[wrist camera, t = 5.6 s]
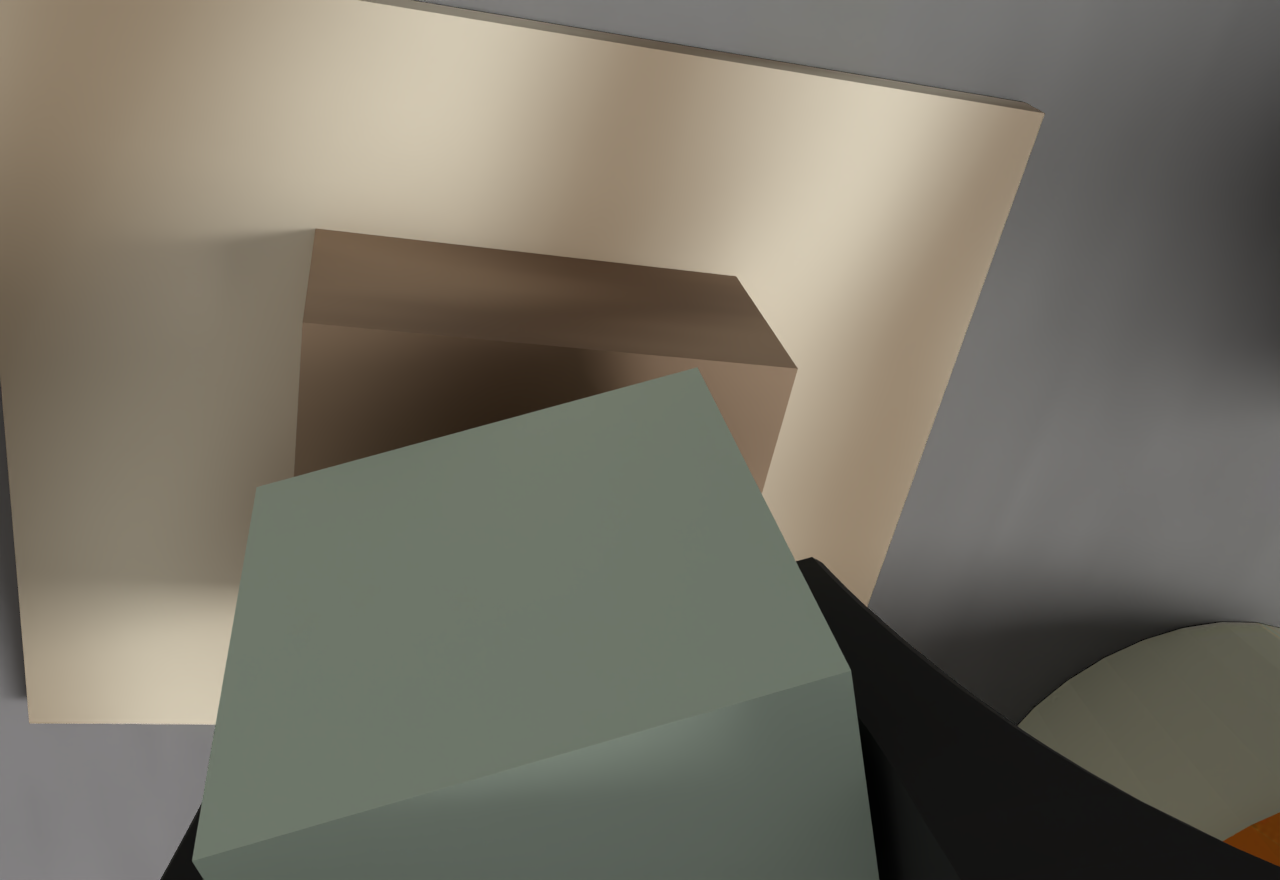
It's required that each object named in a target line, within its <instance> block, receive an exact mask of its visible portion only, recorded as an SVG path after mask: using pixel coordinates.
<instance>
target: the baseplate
mask: <svg viewBox="0 0 1280 880" xmlns="http://www.w3.org/2000/svg"><path fill="white" fill-rule="evenodd" d="M1044 114H1045V113H1043V112H1041V111H1040V110H1038V109H1036V108H1034V107H1032V106H1031V105H1029V104H1027V103H1025V102H1019V101H1013V100H1007V99H1001V98H995V97H989V96H983V95H977V94H971V93H965V92H959V91H953V90H947V89H941V88H935V87H929V86H923V85H917V84H911V83H905V82H899V81H893V80H887V79H881V78H875V77H869V76H863V75H857V74H851V73H845V72H839V71H833V70H827V69H821V68H815V67H809V66H803V65H797V64H791V63H785V62H779V61H773V60H767V59H761V58H755V57H749V56H743V55H737V54H731V53H725V52H719V51H713V50H707V49H701V48H695V47H689V46H683V45H677V44H671V43H665V42H659V41H653V40H647V39H641V38H635V37H629V36H623V35H617V34H611V33H605V32H599V31H593V30H587V29H581V28H575V27H569V26H563V25H557V24H551V23H545V22H539V21H533V20H527V19H521V18H515V17H509V16H503V15H497V14H491V13H485V12H479V11H473V10H467V9H461V8H455V7H449V6H443V5H437V4H431V3H425V2H419V1H413V0H0V380H1V392H2V404H3V416H4V428H5V439H6V451H7V463H8V475H9V487H10V499H11V511H12V523H13V535H14V546H15V558H16V570H17V582H18V594H19V606H20V618H21V630H22V642H23V653H24V665H25V677H26V689H27V701H28V713H29V723H59V724H216V719H217V713H218V707H219V701H220V696H221V690H222V684H223V678H224V673H225V667H226V661H227V655H228V649H229V644H230V638H231V632H232V626H233V621H234V615H235V609H236V603H237V597H238V592H239V586H240V580H241V574H242V569H243V563H244V557H245V551H246V545H247V540H248V534H249V528H250V522H251V516H252V511H253V505H254V499H255V493H256V488H257V487H259V486H262V485H266V484H270V483H273V482H277V481H281V480H285V479H288V478H292V477H296V476H299V475H303V474H307V473H310V472H314V471H318V470H321V469H325V468H329V467H332V466H336V465H340V464H343V463H347V462H351V461H354V460H358V459H362V458H365V457H369V456H373V455H377V454H380V453H384V452H388V451H391V450H395V449H399V448H402V447H406V446H410V445H413V444H417V443H421V442H424V441H428V440H432V439H435V438H439V437H443V436H446V435H450V434H454V433H458V432H461V431H465V430H469V429H472V428H476V427H480V426H483V425H487V424H491V423H494V422H498V421H502V420H505V419H509V418H513V417H516V416H520V415H524V414H527V413H531V412H535V411H538V410H542V409H546V408H550V407H553V406H557V405H561V404H564V403H568V402H572V401H575V400H579V399H583V398H586V397H590V396H594V395H597V394H601V393H605V392H608V391H612V390H616V389H619V388H623V387H627V386H630V385H634V384H638V383H642V382H645V381H649V380H653V379H656V378H660V377H664V376H667V375H671V374H675V373H678V372H682V371H686V370H689V369H693V368H697V367H698V369H699V371H700V373H701V375H702V377H703V379H704V381H705V383H706V385H707V387H708V389H709V391H710V393H711V395H712V397H713V399H714V401H715V403H716V405H717V407H718V409H719V411H720V413H721V415H722V417H723V419H724V421H725V423H726V425H727V427H728V429H729V430H730V432H731V434H732V436H733V438H734V440H735V442H736V444H737V446H738V448H739V450H740V452H741V454H742V456H743V458H744V460H745V462H746V464H747V466H748V468H749V470H750V472H751V474H752V476H753V478H754V480H755V482H756V484H757V486H758V488H759V490H760V492H761V494H762V496H763V498H764V500H765V502H766V504H767V505H768V507H769V509H770V511H771V513H772V515H773V517H774V519H775V521H776V523H777V525H778V527H779V529H780V531H781V533H782V535H783V537H784V539H785V541H786V543H787V545H788V547H789V549H790V551H791V553H792V555H793V557H794V559H795V561H799V560H803V559H806V558H810V557H813V558H815V559H817V560H819V561H820V562H822V563H823V564H824V565H825V566H826V567H827V568H828V569H829V570H830V571H831V572H832V573H833V574H834V575H835V576H836V577H837V578H838V579H839V580H840V581H841V582H842V583H843V584H844V585H845V586H846V587H847V588H848V589H849V590H850V591H851V592H852V593H853V594H854V595H855V596H856V597H857V598H858V599H859V600H860V601H861V602H862V603H863V604H864V605H865V606H868V603H869V600H870V598H871V595H872V592H873V589H874V587H875V584H876V581H877V578H878V575H879V573H880V570H881V567H882V564H883V562H884V559H885V556H886V553H887V550H888V548H889V545H890V542H891V539H892V537H893V534H894V531H895V528H896V526H897V523H898V520H899V517H900V514H901V512H902V509H903V506H904V503H905V501H906V498H907V495H908V492H909V489H910V487H911V484H912V481H913V478H914V476H915V473H916V470H917V467H918V464H919V462H920V459H921V456H922V453H923V451H924V448H925V445H926V442H927V439H928V437H929V434H930V431H931V428H932V426H933V423H934V420H935V417H936V414H937V412H938V409H939V406H940V403H941V401H942V398H943V395H944V392H945V389H946V387H947V384H948V381H949V378H950V376H951V373H952V370H953V367H954V364H955V362H956V359H957V356H958V353H959V351H960V348H961V345H962V342H963V339H964V337H965V334H966V331H967V328H968V326H969V323H970V320H971V317H972V314H973V312H974V309H975V306H976V303H977V301H978V298H979V295H980V292H981V289H982V287H983V284H984V281H985V278H986V276H987V273H988V270H989V267H990V264H991V262H992V259H993V256H994V253H995V251H996V248H997V245H998V242H999V239H1000V237H1001V234H1002V231H1003V228H1004V226H1005V223H1006V220H1007V217H1008V214H1009V212H1010V209H1011V206H1012V203H1013V201H1014V198H1015V195H1016V192H1017V189H1018V187H1019V184H1020V181H1021V178H1022V176H1023V173H1024V170H1025V167H1026V164H1027V162H1028V159H1029V156H1030V153H1031V151H1032V148H1033V145H1034V142H1035V139H1036V137H1037V134H1038V131H1039V128H1040V126H1041V123H1042V120H1043V117H1044Z"/></svg>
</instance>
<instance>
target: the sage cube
mask: <svg viewBox="0 0 1280 880" xmlns="http://www.w3.org/2000/svg"><path fill="white" fill-rule="evenodd" d="M192 862H193V864H194V865H195V867H196V868H197V870H198V871H199V873H200V874H201V876H202V878H203V879H204V880H879V874H878V867H877V859H876V852H875V844H874V837H873V829H872V822H871V815H870V807H869V800H868V792H867V785H866V777H865V770H864V763H863V755H862V748H861V740H860V733H859V725H858V718H857V711H856V703H855V696H854V688H853V681H852V673H851V669H850V667H849V665H848V663H847V661H846V659H845V657H844V655H843V654H842V652H841V650H840V648H839V646H838V644H837V642H836V640H835V638H834V636H833V634H832V632H831V630H830V628H829V626H828V624H827V622H826V620H825V618H824V616H823V614H822V612H821V610H820V608H819V606H818V604H817V602H816V600H815V598H814V596H813V594H812V592H811V590H810V588H809V586H808V584H807V582H806V580H805V579H804V577H803V575H802V573H801V571H800V569H799V567H798V565H797V563H796V561H795V559H794V557H793V555H792V553H791V551H790V549H789V547H788V545H787V543H786V541H785V539H784V537H783V535H782V533H781V531H780V529H779V527H778V525H777V523H776V521H775V519H774V517H773V515H772V513H771V511H770V509H769V507H768V505H767V504H766V502H765V500H764V498H763V496H762V494H761V492H760V490H759V488H758V486H757V484H756V482H755V480H754V478H753V476H752V474H751V472H750V470H749V468H748V466H747V464H746V462H745V460H744V458H743V456H742V454H741V452H740V450H739V448H738V446H737V444H736V442H735V440H734V438H733V436H732V434H731V432H730V430H729V429H728V427H727V425H726V423H725V421H724V419H723V417H722V415H721V413H720V411H719V409H718V407H717V405H716V403H715V401H714V399H713V397H712V395H711V393H710V391H709V389H708V387H707V385H706V383H705V381H704V379H703V377H702V375H701V373H700V371H699V369H698V367H697V368H693V369H689V370H686V371H682V372H678V373H675V374H671V375H667V376H664V377H660V378H656V379H653V380H649V381H645V382H642V383H638V384H634V385H630V386H627V387H623V388H619V389H616V390H612V391H608V392H605V393H601V394H597V395H594V396H590V397H586V398H583V399H579V400H575V401H572V402H568V403H564V404H561V405H557V406H553V407H550V408H546V409H542V410H538V411H535V412H531V413H527V414H524V415H520V416H516V417H513V418H509V419H505V420H502V421H498V422H494V423H491V424H487V425H483V426H480V427H476V428H472V429H469V430H465V431H461V432H458V433H454V434H450V435H446V436H443V437H439V438H435V439H432V440H428V441H424V442H421V443H417V444H413V445H410V446H406V447H402V448H399V449H395V450H391V451H388V452H384V453H380V454H377V455H373V456H369V457H365V458H362V459H358V460H354V461H351V462H347V463H343V464H340V465H336V466H332V467H329V468H325V469H321V470H318V471H314V472H310V473H307V474H303V475H299V476H296V477H292V478H288V479H285V480H281V481H277V482H273V483H270V484H266V485H262V486H259V487H257V488H256V493H255V499H254V505H253V511H252V516H251V522H250V528H249V534H248V540H247V545H246V551H245V557H244V563H243V569H242V574H241V580H240V586H239V592H238V597H237V603H236V609H235V615H234V621H233V626H232V632H231V638H230V644H229V649H228V655H227V661H226V667H225V673H224V678H223V684H222V690H221V696H220V701H219V707H218V713H217V719H216V725H215V730H214V736H213V742H212V748H211V753H210V759H209V765H208V771H207V777H206V782H205V788H204V794H203V800H202V805H201V811H200V817H199V823H198V829H197V834H196V840H195V846H194V852H193V858H192Z"/></svg>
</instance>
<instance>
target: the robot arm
mask: <svg viewBox="0 0 1280 880" xmlns="http://www.w3.org/2000/svg"><path fill="white" fill-rule="evenodd" d="M796 563H797V565H798V567H799V569H800V571H801V573H802V575H803V577H804V579H805V580H806V582H807V584H808V586H809V588H810V590H811V592H812V594H813V596H814V598H815V600H816V602H817V604H818V606H819V608H820V610H821V612H822V614H823V616H824V618H825V620H826V622H827V624H828V626H829V628H830V630H831V632H832V634H833V636H834V638H835V640H836V642H837V644H838V646H839V648H840V650H841V652H842V654H843V655H844V657H845V659H846V661H847V663H848V665H849V667H850V669H851V673H852V681H853V688H854V696H855V703H856V711H857V718H858V725H859V733H860V740H861V748H862V755H863V763H864V770H865V777H866V785H867V792H868V800H869V807H870V815H871V822H872V829H873V837H874V844H875V852H876V859H877V867H878V874H879V880H1280V867H1279V866H1277V865H1275V864H1272V863H1270V862H1268V861H1265V860H1263V859H1261V858H1258V857H1256V856H1254V855H1251V854H1249V853H1247V852H1245V851H1242V850H1240V849H1238V848H1235V847H1233V846H1231V845H1229V844H1227V843H1225V842H1223V841H1221V840H1219V839H1217V838H1215V837H1213V836H1211V835H1209V834H1207V833H1205V832H1203V831H1201V830H1199V829H1197V828H1195V827H1193V826H1191V825H1189V824H1187V823H1185V822H1183V821H1181V820H1179V819H1177V818H1175V817H1173V816H1171V815H1168V814H1166V813H1164V812H1162V811H1160V810H1158V809H1156V808H1154V807H1152V806H1150V805H1148V804H1146V803H1144V802H1142V801H1140V800H1139V799H1137V798H1135V797H1133V796H1131V795H1129V794H1128V793H1126V792H1124V791H1122V790H1121V789H1119V788H1117V787H1115V786H1114V785H1112V784H1110V783H1108V782H1106V781H1105V780H1103V779H1101V778H1099V777H1098V776H1096V775H1094V774H1092V773H1091V772H1089V771H1087V770H1085V769H1084V768H1082V767H1081V766H1079V765H1077V764H1076V763H1074V762H1072V761H1071V760H1069V759H1068V758H1066V757H1064V756H1063V755H1061V754H1059V753H1058V752H1056V751H1054V750H1053V749H1051V748H1050V747H1048V746H1046V745H1045V744H1043V743H1042V742H1040V741H1039V740H1037V739H1036V738H1034V737H1033V736H1031V735H1030V734H1028V733H1027V732H1025V731H1024V730H1022V729H1021V728H1019V727H1018V726H1016V725H1015V724H1013V723H1012V722H1010V721H1009V720H1007V719H1006V718H1005V717H1003V716H1002V715H1001V714H999V713H998V712H996V711H995V710H994V709H992V708H991V707H989V706H988V705H987V704H985V703H984V702H982V701H981V700H980V699H978V698H977V697H975V696H974V695H973V694H971V693H970V692H969V691H967V690H966V689H965V688H963V687H962V686H961V685H960V684H958V683H957V682H956V681H954V680H953V679H952V678H950V677H949V676H948V675H947V674H945V673H944V672H943V671H942V670H940V669H939V668H938V667H937V666H935V665H934V664H933V663H932V662H931V661H929V660H928V659H927V658H926V657H924V656H923V655H922V654H921V653H919V652H918V651H917V650H916V649H915V648H913V647H912V646H911V645H910V644H908V643H907V642H906V641H905V640H904V639H903V638H901V637H900V636H899V635H898V634H897V633H896V632H894V631H893V630H892V629H891V628H890V627H889V626H888V625H886V624H885V623H884V622H883V621H882V620H881V619H880V618H879V617H878V616H876V615H875V614H874V613H873V612H872V611H871V610H870V609H869V608H868V607H867V606H865V605H864V604H863V603H862V602H861V601H860V600H859V599H858V598H857V597H856V596H855V595H854V594H853V593H852V592H851V591H850V590H849V589H848V588H847V587H846V586H845V585H844V584H843V583H842V582H841V581H840V580H839V579H838V578H837V577H836V576H835V575H834V574H833V573H832V572H831V571H830V570H829V569H828V568H827V567H826V566H825V565H824V564H823V563H822V562H820V561H819V560H817V559H815V558H813V557H810V558H806V559H803V560H799V561H796ZM201 805H202V803H201ZM201 805H200V807H199V809H198V811H197V813H196V815H195V817H194V819H193V821H192V823H191V825H190V826H189V828H188V830H187V832H186V834H185V836H184V838H183V839H182V841H181V843H180V845H179V847H178V849H177V850H176V852H175V854H174V856H173V858H172V859H171V861H170V863H169V865H168V867H167V869H166V870H165V872H164V874H163V876H162V878H161V879H160V880H204V879H203V878H202V876H201V874H200V873H199V871H198V870H197V868H196V867H195V865H194V864H193V862H192V858H193V852H194V846H195V840H196V834H197V829H198V823H199V817H200V811H201Z"/></svg>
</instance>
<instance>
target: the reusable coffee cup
mask: <svg viewBox="0 0 1280 880" xmlns="http://www.w3.org/2000/svg"><path fill="white" fill-rule="evenodd" d="M1018 727H1019V728H1021V729H1022V730H1024V731H1025V732H1027V733H1028V734H1030V735H1031V736H1033V737H1034V738H1036V739H1037V740H1039V741H1040V742H1042V743H1043V744H1045V745H1046V746H1048V747H1050V748H1051V749H1053V750H1054V751H1056V752H1058V753H1059V754H1061V755H1063V756H1064V757H1066V758H1068V759H1069V760H1071V761H1072V762H1074V763H1076V764H1077V765H1079V766H1081V767H1082V768H1084V769H1085V770H1087V771H1089V772H1091V773H1092V774H1094V775H1096V776H1098V777H1099V778H1101V779H1103V780H1105V781H1106V782H1108V783H1110V784H1112V785H1114V786H1115V787H1117V788H1119V789H1121V790H1122V791H1124V792H1126V793H1128V794H1129V795H1131V796H1133V797H1135V798H1137V799H1139V800H1140V801H1142V802H1144V803H1146V804H1148V805H1150V806H1152V807H1154V808H1156V809H1158V810H1160V811H1162V812H1164V813H1166V814H1168V815H1171V816H1173V817H1175V818H1177V819H1179V820H1181V821H1183V822H1185V823H1187V824H1189V825H1191V826H1193V827H1195V828H1197V829H1199V830H1201V831H1203V832H1205V833H1207V834H1209V835H1211V836H1213V837H1215V838H1217V839H1219V840H1221V841H1223V842H1225V843H1227V844H1229V845H1231V846H1233V847H1235V848H1238V849H1240V850H1242V851H1245V852H1247V853H1249V854H1251V855H1254V856H1256V857H1258V858H1261V859H1263V860H1265V861H1268V862H1270V863H1272V864H1275V865H1277V866H1279V867H1280V628H1278V627H1273V626H1269V625H1264V624H1260V623H1243V622H1219V623H1213V624H1206V625H1199V626H1193V627H1186V628H1182V629H1178V630H1175V631H1172V632H1168V633H1165V634H1162V635H1159V636H1155V637H1152V638H1149V639H1145V640H1143V641H1140V642H1138V643H1136V644H1134V645H1132V646H1129V647H1127V648H1125V649H1123V650H1121V651H1119V652H1116V653H1114V654H1112V655H1110V656H1108V657H1105V658H1103V659H1102V660H1100V661H1099V662H1097V663H1095V664H1094V665H1092V666H1091V667H1089V668H1087V669H1086V670H1084V671H1082V672H1081V673H1079V674H1078V675H1076V676H1074V677H1073V678H1071V679H1069V680H1068V681H1067V682H1065V683H1064V684H1063V685H1062V686H1060V687H1059V688H1058V689H1057V690H1055V691H1054V692H1053V693H1052V694H1051V695H1049V696H1048V697H1047V698H1046V699H1044V700H1043V701H1042V702H1041V703H1039V704H1038V705H1037V706H1036V707H1035V708H1034V709H1033V710H1032V711H1031V712H1030V713H1029V714H1028V715H1027V716H1026V717H1025V718H1024V719H1023V721H1022V722H1021V723H1020V724H1019V725H1018Z"/></svg>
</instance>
